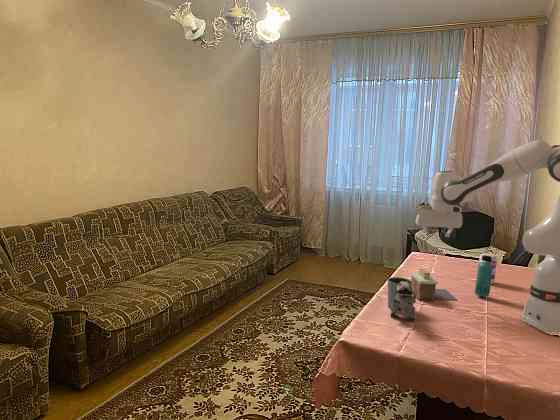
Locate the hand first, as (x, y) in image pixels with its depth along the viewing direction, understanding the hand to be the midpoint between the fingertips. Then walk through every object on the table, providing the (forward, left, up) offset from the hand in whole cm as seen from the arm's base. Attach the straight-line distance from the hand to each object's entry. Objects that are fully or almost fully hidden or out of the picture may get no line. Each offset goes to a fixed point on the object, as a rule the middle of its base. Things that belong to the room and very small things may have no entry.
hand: (436, 236), depth 201 cm
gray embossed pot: (-17, +20, -29) cm, 39 cm away
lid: (-1, +4, -20) cm, 21 cm away
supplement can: (+24, -38, -29) cm, 53 cm away
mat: (+2, -6, -28) cm, 29 cm away
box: (-1, +4, -28) cm, 29 cm away
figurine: (-30, +22, -29) cm, 47 cm away
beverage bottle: (+1, -25, -29) cm, 38 cm away
